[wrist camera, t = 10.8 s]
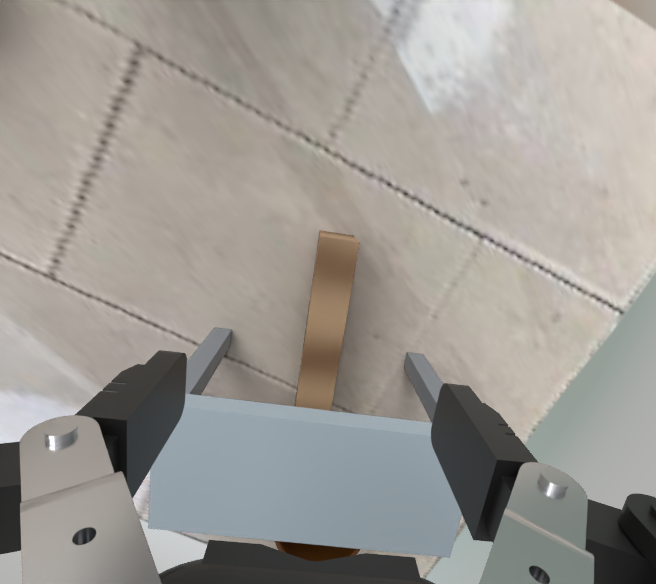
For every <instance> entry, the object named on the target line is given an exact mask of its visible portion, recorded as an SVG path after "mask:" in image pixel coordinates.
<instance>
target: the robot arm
mask: <svg viewBox="0 0 656 584" xmlns="http://www.w3.org/2000/svg"><path fill="white" fill-rule="evenodd" d="M186 369H187V357H186V354H185V353H179V352H170V351H161V350H160V351H158V352H157V353H156V354H155V355H154V356H153V357H152V358H151V359H150V360H149V361H148V362H147V363H146V364H145V365H140V364H137V365H135V366H133V367H131V368H129V369H126V370H124V371H122V372H121V373H120V374H119V375H118V376H117V377H116V378H114V379H113V380H112V382H111V383H109V384H108V385H107V386H106V387H105V388H104V389H103V391H100V392H99V393H98V394H97V395H96V396H95V397H94V398H93V399H92V400H91V401H90V402H88V403H87V404H86V405H85V406H84V407H83V408H82V409H81V410H80V411H79V412H78V413H77V414H75V415H72V416H63V417H58V418H54V419H50V420H47V421H45V422H42V423H40V424H38V425H36V426H34V427H33V428H31V429H30V430H29V431H27V432H26V433H25V434H24V435H23V437H22V438H21V440H20V442H14V443H4V444H0V554H4V553H10V552H15V551H20V550H21V554H22V584H434V583H432V582H430V581H428V580H426V579H423V578H420V575H419V571H418V568H417V564H416V560H415V558H413V557H401V556H390V555H378V554H366V553H365V554H359V555H353V556H348V557H342V558H336V559H330V560H324V561H318V562H313V561H308V560H305V559H302V558H299V557H296V556H293V555H290V554H287V553H285V552H282V551H279V550H276V549H273V548H270V547H267V546H264V545H261V544H250V543H239V542H227V541H215V540H209V542H208V545H207V549H206V552H205V555H204V558H203V559H200V560H196V561H192V562H188V563H184V564H181V565H178V566H176V567H173V568H171V569H168V570H166V571H164V572H163V573H160V574H158V572H157V569H156V566H155V563H154V560H153V557H152V554H151V551H150V549H149V546H148V543H147V540H146V537H145V534H144V531H143V529H142V526H141V523H140V520H139V517H138V514H137V511H136V508H135V506H134V503H133V500H132V498H133V497H134V495H135V493H136V492H137V490H138V488H139V487H140V485H141V484H142V482H143V480H144V479H145V477H146V475H147V474H148V472H149V470H150V469H151V467H152V465H153V464H154V462H155V460H156V459H157V457H158V455H159V454H160V452H161V450H162V449H163V447H164V445H165V444H166V442H167V440H168V439H169V437H170V435H171V434H172V432H173V430H174V429H175V427H176V426H177V424H178V422H179V420H180V418H181V416H182V413H183V409H184V405H185V392H186ZM431 443H432V447H433V449H434V451H435V454H436V456H437V458H438V461H439V463H440V465H441V467H442V470H443V472H444V474H445V476H446V479H447V481H448V483H449V485H450V488H451V490H452V492H453V495H454V497H455V499H456V501H457V504H458V506H459V508H460V510H461V513H462V515H463V517H464V519H465V522H466V524H467V526H468V528H469V531H470V533H471V535H472V538H473V540H481V541H492V542H493V545H492V549H491V551H490V554H489V557H488V560H487V563H486V566H485V569H484V571H483V574H482V577H481V580H480V583H479V584H656V498H655V497H652V496H648V495H644V494H631V495H629V496H628V497H627V499H626V501H625V504H624V506H623V509H622V510H620V509H617V508H614V507H611V506H608V505H605V504H601V503H598V502H595V501H592V500H589V499H588V498H587V494H586V492H585V491H584V489H583V488H582V487H581V485H580V484H579V483H577V482H576V481H575V480H574V479H573V478H572V477H570V476H569V475H567V474H566V473H564V472H562V471H560V470H558V469H556V468H554V467H552V466H549V465H546V464H542V463H538V462H537V460H536V459H535V458H534V457H533V455H532V454H531V453H530V452H529V450H528V449H527V448H526V447H525V445H524V444H523V443H522V442H521V440H520V439H519V438H518V437H517V436H515V433H514V432H513V430H512V429H511V428H510V427H508V424H507V423H506V422H505V420H504V419H503V418H502V417H501V415H500V414H499V413H497V412H496V411H495V410H493V409H492V408H491V407H489V406H488V405H486V404H485V403H482V402H481V401H480V400H479V398H478V397H477V396H476V394H475V393H474V392H473V391H472V389H471V388H470V387H469V386H465V385H456V384H447V383H445V384H443V385H442V387H441V389H440V392H439V397H438V401H437V405H436V409H435V414H434V418H433V422H432V427H431Z"/></svg>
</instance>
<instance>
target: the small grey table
mask: <svg viewBox="0 0 656 584" xmlns="http://www.w3.org/2000/svg"><path fill="white" fill-rule="evenodd" d="M231 332H232V330H231V329H223V328H215V327H214V329H213V330H212V331H211V332H210V334H209V335H208V336H207V337H206V339H205V340H204V341H203V342H202V344H201V345H200V346H199V347H198V349H197V350H196V351H195V352H194V354H193V355H192V356H191V357H190V359H189V360H188V361H187V369H186V392H185V405H184V409H183V413H182V416H181V418H180V420H179V422H178V424H177V426H176V427H175V429H174V430H173V432H172V434H171V435H170V437H169V439H168V440H167V442H166V444H165V445H164V447H163V449H162V450H161V452H160V454H159V455H158V457H157V459H156V460H155V462H154V464H153V465H152V467H151V471H150V495H149V519H148V528H150V529H161V530H170V531H180V532H191V533H201V534H211V535H222V536H232V537H242V538H252V539H263V540H273V541H283V542H293V543H304V544H314V545H324V546H335V547H345V548H355V549H365V550H376V551H386V552H396V553H406V554H417V555H427V556H437V557H448V558H449V557H450V555H451V551H452V548H453V544H454V541H455V537H456V533H457V530H458V526H459V523H460V519H461V515H462V513H461V510H460V508H459V506H458V504H457V501H456V499H455V497H454V495H453V492H452V490H451V488H450V485H449V483H448V481H447V479H446V476H445V474H444V472H443V470H442V467H441V465H440V463H439V461H438V458H437V456H436V454H435V451H434V449H433V447H432V443H431V427H432V423H430V422H421V421H413V420H404V419H396V418H387V417H379V416H370V415H362V414H354V413H345V412H337V411H328V410H320V409H311V408H303V407H294V406H286V405H278V404H269V403H261V402H252V401H244V400H235V399H227V398H218V397H210V396H202V395H201V394H202V392H203V390H204V389H205V387H206V385H207V384H208V382H209V380H210V379H211V377H212V375H213V374H214V372H215V370H216V369H217V367H218V365H219V364H220V362H221V360H222V358H223V357H224V355H225V353H226V352H227V350H228V348H229V347H230V343H231ZM404 369H405V371H406V373H407V375H408V377H409V379H410V381H411V383H412V385H413V387H414V389H415V390H416V392H417V394H418V396H419V398H420V400H421V402H422V404H423V406H424V408H425V410H426V412H427V414H428V416H429V418H430V420H431V422H433V418H434V414H435V409H436V405H437V401H438V397H439V392H440V389H441V387H442V385H443V383H442V381H441V380H440V379H439V377H438V376H437V374H436V373H435V371H434V370H433V368H432V367H431V365H430V364H429V362H428V361H427V359H426V358H425V356H424V355H423V354H417V353H409V352H407V355H406V360H405V365H404Z"/></svg>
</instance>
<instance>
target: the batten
mask: <svg viewBox="0 0 656 584" xmlns="http://www.w3.org/2000/svg"><path fill="white" fill-rule="evenodd" d="M359 243H360V242H359V241H358V240H357V239H356V238H355V237H354V236H353V235H346V234H340V233H333V232H326V231H320V233H319V240H318V247H317V254H316V261H315V268H314V275H313V282H312V289H311V296H310V303H309V310H308V317H307V324H306V331H305V338H304V344H303V351H302V358H301V365H300V372H299V379H298V386H297V393H296V400H295V407H303V408H311V409H320V410H328V411H331V408H332V402H333V396H334V390H335V384H336V378H337V372H338V366H339V361H340V355H341V349H342V343H343V337H344V331H345V325H346V319H347V313H348V307H349V302H350V296H351V290H352V284H353V278H354V272H355V266H356V260H357V254H358V248H359Z"/></svg>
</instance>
